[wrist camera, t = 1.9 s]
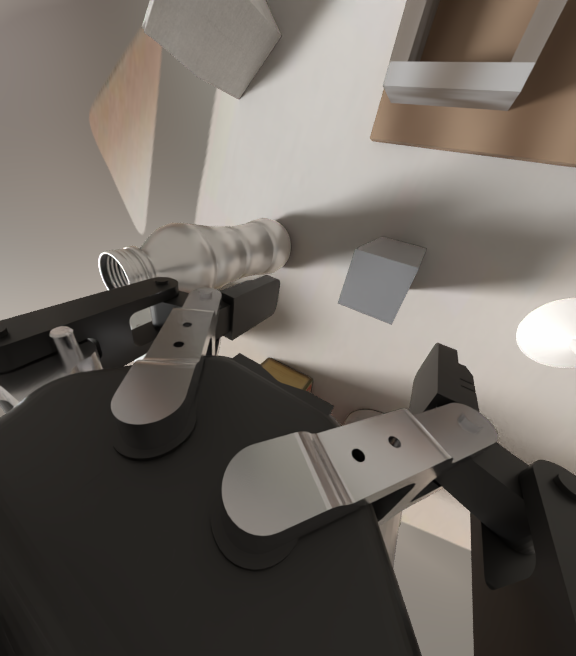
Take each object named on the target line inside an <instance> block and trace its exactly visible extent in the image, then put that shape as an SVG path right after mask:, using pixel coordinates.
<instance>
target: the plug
mask: <svg viewBox="0 0 576 656" xmlns="http://www.w3.org/2000/svg"><path fill="white" fill-rule="evenodd" d="M426 249H427V248H423V247H420V246H416V245H412V244H408V243H405V242H401V241H397V240H394V239H390V238H386V237H380V238H378V239H376V240H374V241H371V242H369V243H367V244H365V245H363V246H361V247H358V248H356V249H355V251H354V254H353V257H352V261H351V264H350V267H349V270H348V273H347V276H346V279H345V282H344V285H343V288H342V291H341V294H340V298H339V301H338V304H341V305H343V306H346V307H348V308H351V309H353V310H356V311H358V312H361V313H363V314H366V315H369V316H371V317H374V318H376V319H379V320H381V321H384V322H386V323H389V324H391V325H392V323H393V321H394V319H395V317H396V314H397V312H398V310H399V308H400V306H401V304H402V302H403V300H404V298H405V296H406V294H407V292H408V290H409V288H410V286H411V284H412V282H413V280H414V278H415V276H416V274H417V271H418V269H419V267H420V264H421V262H422V259H423V257H424V254H425V251H426Z"/></svg>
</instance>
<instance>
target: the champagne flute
mask: <svg viewBox="0 0 576 656" xmlns="http://www.w3.org/2000/svg"><path fill="white" fill-rule="evenodd" d="M516 339H517V344H518V346H519V348H520V350H521V351H522V352H523V353H524V354H525V355H526V356H528V357H529V358H530V359H532V360H534V361H536V362H538V363H541V364H544V365H547V366H552V367H557V368H576V298H566V299H560V300H556V301H553V302H550V303H547V304H545V305H542V306H540V307H538V308H537V309H535V310H533V311H532V312H530V313H529V314H528V315H527V316H526V317H525V318H524V319H523V320H522V322H521V323H520V324H519V327H518V329H517V333H516Z"/></svg>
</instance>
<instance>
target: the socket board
mask: <svg viewBox="0 0 576 656" xmlns="http://www.w3.org/2000/svg"><path fill="white" fill-rule="evenodd" d="M383 87H384V90H383V94H382V97H381V101H380V104H379V108H378V111H377V115H376V118H375V122H374V125H373V129H372V132H371V136H370V139H371V140H372V141H375V142H383V143H391V144H398V145H406V146H414V147H422V148H429V149H437V150H445V151H453V152H460V153H468V154H476V155H484V156H491V157H499V158H507V159H515V160H522V161H530V162H538V163H546V164H553V165H561V166H569V167H576V0H407V2H406V5H405V9H404V12H403V16H402V19H401V23H400V26H399V30H398V33H397V37H396V41H395V44H394V48H393V51H392V55H391V58H390V62H389V65H388V69H387V72H386V76H385V80H384V83H383Z"/></svg>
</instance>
